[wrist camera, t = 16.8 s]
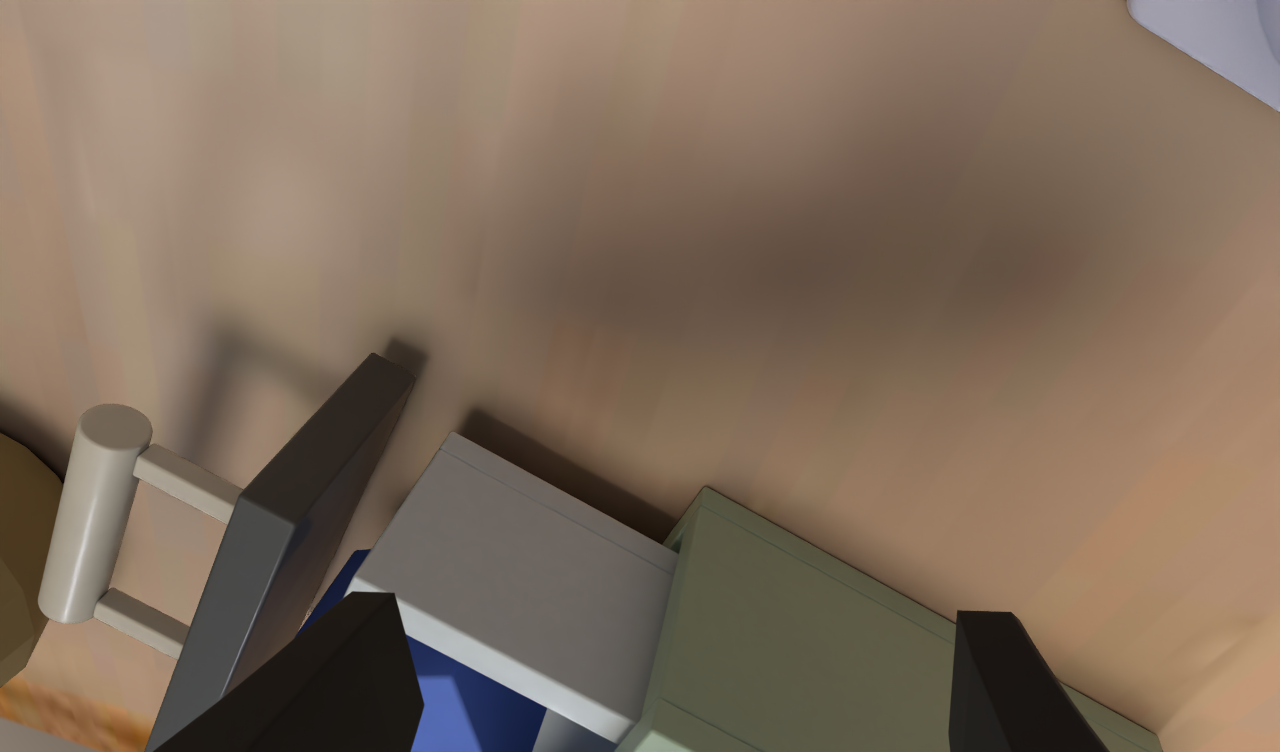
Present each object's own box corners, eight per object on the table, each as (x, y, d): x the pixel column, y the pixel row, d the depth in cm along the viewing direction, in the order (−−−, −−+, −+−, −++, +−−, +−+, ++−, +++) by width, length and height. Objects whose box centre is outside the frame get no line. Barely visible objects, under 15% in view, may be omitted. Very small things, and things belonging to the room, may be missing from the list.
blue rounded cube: (354, 548, 24) (262, 679, 20) (516, 540, 23) (451, 677, 19) (408, 676, 26) (334, 818, 22) (560, 675, 25) (509, 823, 21)
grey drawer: (125, 549, 27) (-36, 706, 22) (209, 261, 22) (24, 383, 17) (634, 811, 29) (590, 1014, 24) (827, 599, 23) (822, 803, 18)
